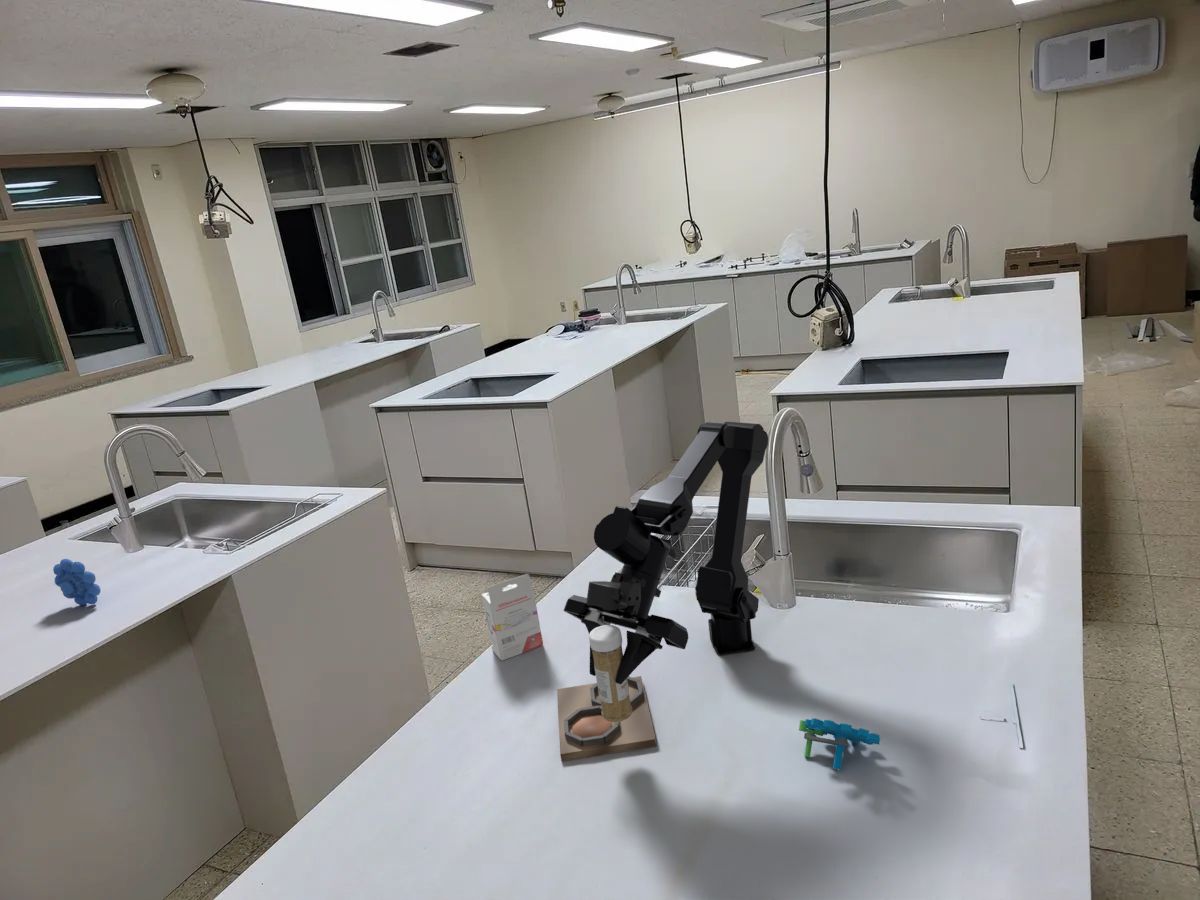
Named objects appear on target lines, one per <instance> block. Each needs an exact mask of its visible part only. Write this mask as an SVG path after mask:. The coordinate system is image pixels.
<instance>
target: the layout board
mask: <svg viewBox="0 0 1200 900" xmlns="http://www.w3.org/2000/svg"><path fill="white" fill-rule="evenodd" d="M627 681H628V688H629V697H630V703H631V707H632V713H631V715H630V717H628V718H627V719H625V720H623V721H620V722H610V721H607V720H605V719H604V718H603V716H602V707H601V701H600V697H599V692H598V686H597V682H594V683H587V684H581V685H575V686H569V687H563V688H562V687H561V688H557V689H556V692H557V693H556V694H557V695H556V697H557V715H558V716H557V717H558V720H557V721H558V733H559V734H558V735H559V736H558V738H559V755H560V759H561V760H560V761H561V762H564V761H571V760H577V759H583V758H589V757H596V756H603V755H609V754H614V753H615V754H616V753H619V752H620V753H622V752H626V751H627V752H628V751H632V750H633V751H634V750H641V749H646V748H651V747H653V748H654V747H657V739H656V735H655V730H654V727H653V726H654V725H653V721H652V717H651V714H650V710H649V709H650V708H649V704H648V700H647V699H648V698H647V695H646V692H645V688H644V687H645V686H644V682H643V677H642V676H641V675H640V676H630V675H629V676H628V677H627Z"/></svg>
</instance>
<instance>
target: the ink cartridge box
mask: <svg viewBox="0 0 1200 900" xmlns="http://www.w3.org/2000/svg"><path fill="white" fill-rule="evenodd" d="M535 597H536V596H535V592H534V589H533V586H532V582H531V577H530V574H529V573H525V574H522V575H519V576H515V577H514V578H509V579H507V580H503V581H500V582H499V583H495V584H493V585H489V586H488V587H487V592H485V593H481V600H482V606H483V611H484V615H485V620H486V625H487V631H488V635H489V641H490V646H491V649H492V652H493V653H494V654H495V655H496V657H498V658H499V659H500V661H505V660H507V659H511V658H514V657H515V656H518V655H521V654H524V653H526V652H529V651H531V650H534V649H537V648H540V647H541V646H544V640H543V635H542V631H541V625H540V619H539V613H538V607H537V602H536V598H535ZM492 645H493V646H492Z"/></svg>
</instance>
